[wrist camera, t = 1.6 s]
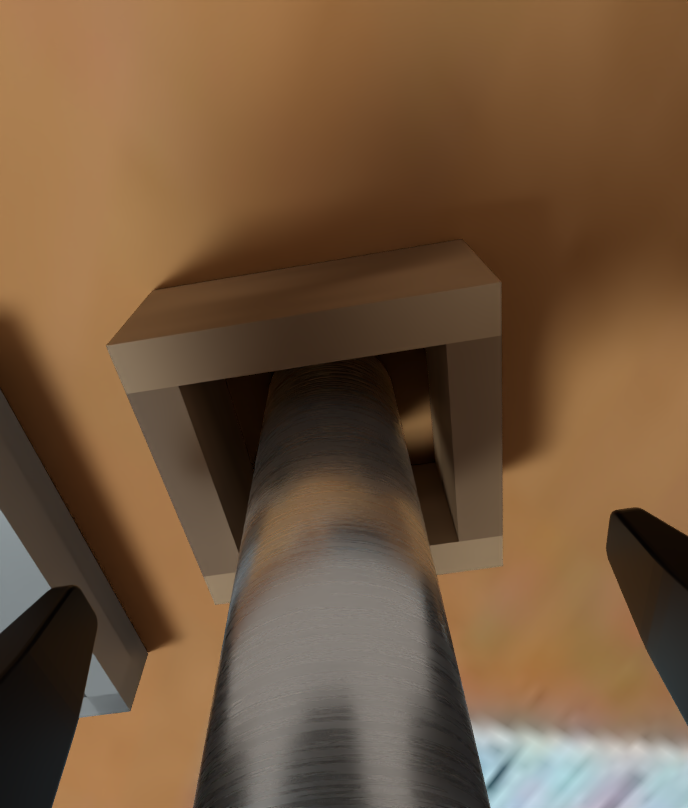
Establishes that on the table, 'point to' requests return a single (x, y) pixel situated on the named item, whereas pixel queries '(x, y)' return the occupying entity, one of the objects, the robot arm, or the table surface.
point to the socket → (315, 344)
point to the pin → (337, 618)
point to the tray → (59, 569)
